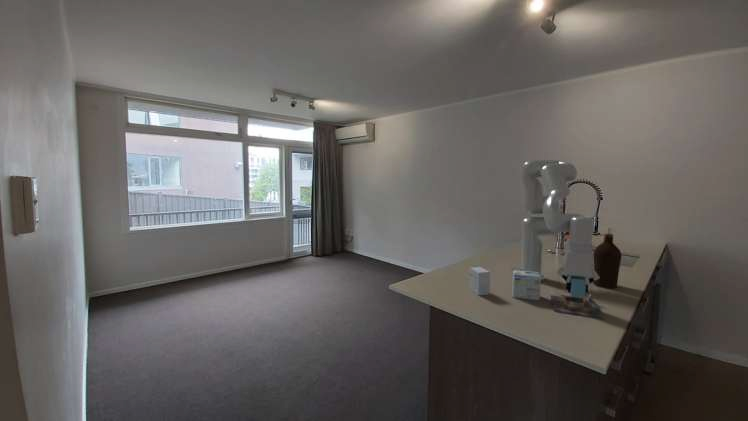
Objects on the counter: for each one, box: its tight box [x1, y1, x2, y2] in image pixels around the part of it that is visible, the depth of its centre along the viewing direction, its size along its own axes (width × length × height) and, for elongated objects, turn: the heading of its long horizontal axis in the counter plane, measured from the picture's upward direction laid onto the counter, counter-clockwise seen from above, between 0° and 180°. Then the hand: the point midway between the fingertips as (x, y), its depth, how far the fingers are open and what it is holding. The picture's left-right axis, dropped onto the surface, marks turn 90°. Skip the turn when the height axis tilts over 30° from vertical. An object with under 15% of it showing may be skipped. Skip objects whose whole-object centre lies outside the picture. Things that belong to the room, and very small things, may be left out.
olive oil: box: [592, 233, 622, 290], centre depth 149 cm, size 11×11×25 cm
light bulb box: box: [511, 270, 542, 301], centre depth 136 cm, size 11×7×11 cm, turn 71°
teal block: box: [569, 276, 586, 299], centre depth 124 cm, size 8×4×7 cm, turn 155°
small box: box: [468, 266, 491, 297], centre depth 141 cm, size 8×6×10 cm
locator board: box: [550, 293, 605, 320], centre depth 125 cm, size 16×16×4 cm
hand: (576, 292), depth 125 cm, fingers closed on teal block, 4 cm apart
